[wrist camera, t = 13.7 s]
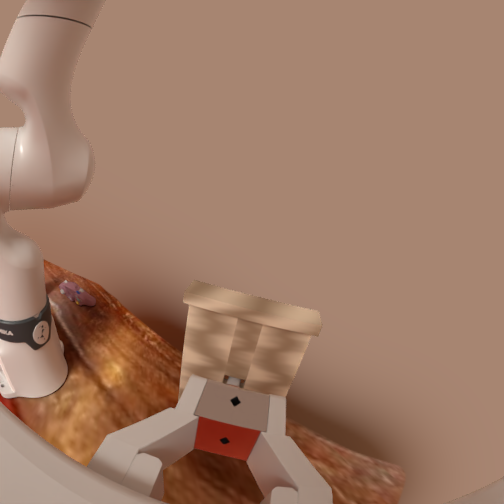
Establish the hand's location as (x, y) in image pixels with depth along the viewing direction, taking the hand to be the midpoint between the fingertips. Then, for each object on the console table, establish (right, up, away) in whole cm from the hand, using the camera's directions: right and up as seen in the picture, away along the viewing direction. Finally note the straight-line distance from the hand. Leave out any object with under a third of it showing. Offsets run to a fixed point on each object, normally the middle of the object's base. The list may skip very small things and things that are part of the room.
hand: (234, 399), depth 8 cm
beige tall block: (-5, -23, +26) cm, 35 cm away
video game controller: (-43, -8, +49) cm, 65 cm away
